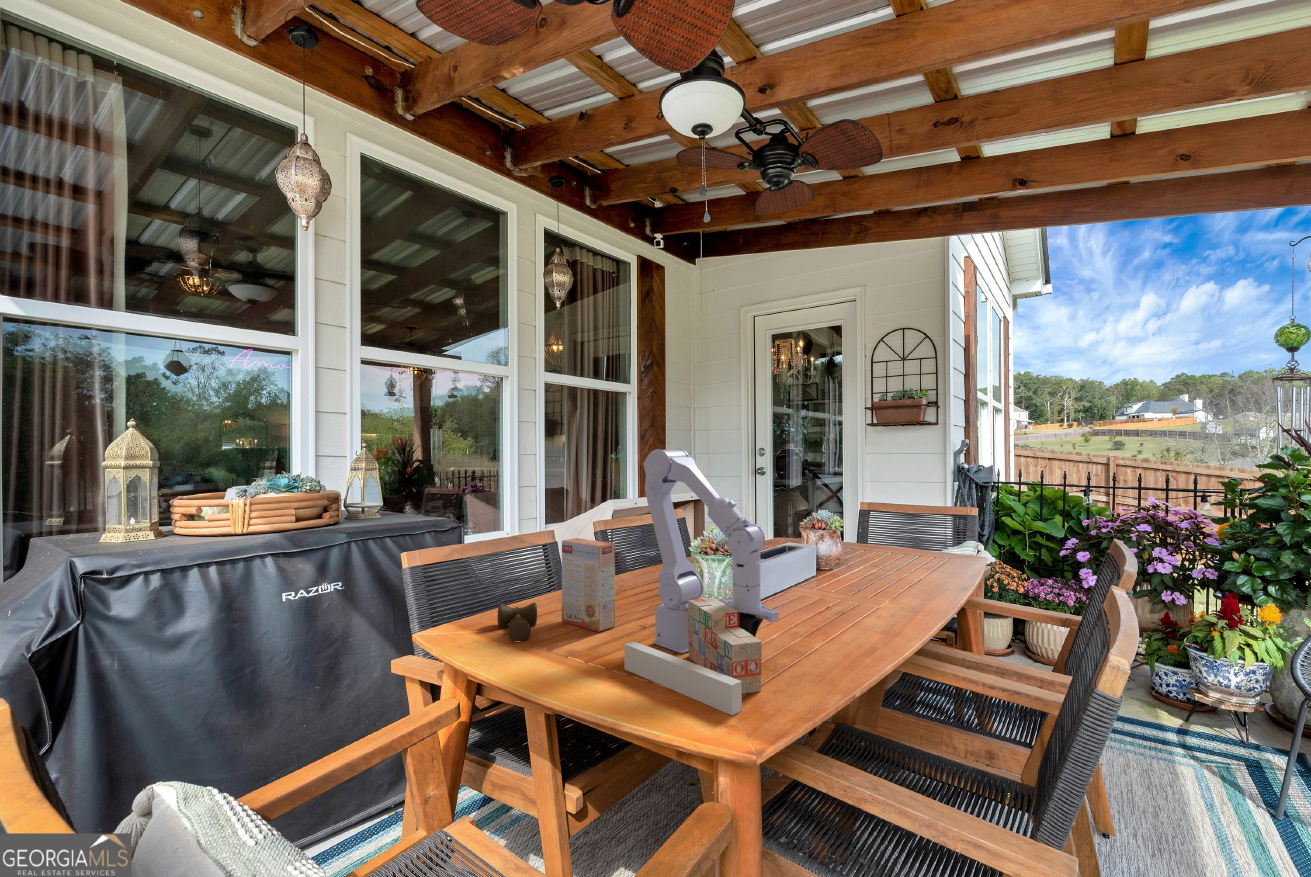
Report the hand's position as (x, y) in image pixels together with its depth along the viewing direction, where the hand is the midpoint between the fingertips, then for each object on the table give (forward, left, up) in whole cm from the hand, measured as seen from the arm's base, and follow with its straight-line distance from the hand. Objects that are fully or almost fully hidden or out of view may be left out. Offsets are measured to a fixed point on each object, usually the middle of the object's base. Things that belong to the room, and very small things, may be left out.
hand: (746, 649), depth 124 cm
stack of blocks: (+1, -8, -3) cm, 9 cm away
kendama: (-51, -24, -3) cm, 57 cm away
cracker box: (-43, -9, -3) cm, 44 cm away
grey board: (0, -20, -2) cm, 20 cm away
